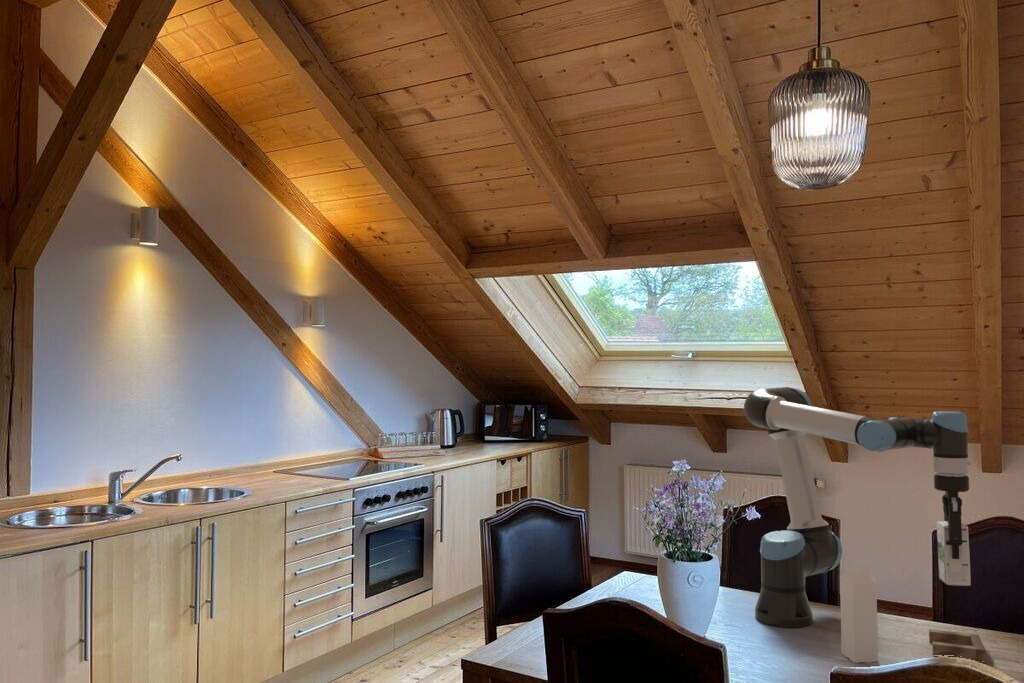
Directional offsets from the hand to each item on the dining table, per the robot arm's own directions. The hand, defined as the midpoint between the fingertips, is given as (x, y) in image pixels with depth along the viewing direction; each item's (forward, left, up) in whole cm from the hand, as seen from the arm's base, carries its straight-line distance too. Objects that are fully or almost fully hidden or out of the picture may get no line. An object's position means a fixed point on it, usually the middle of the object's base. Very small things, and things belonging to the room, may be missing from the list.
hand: (953, 568), depth 193 cm
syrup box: (0, 0, -4) cm, 4 cm away
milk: (-22, -13, -21) cm, 33 cm away
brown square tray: (-1, 0, -20) cm, 20 cm away
